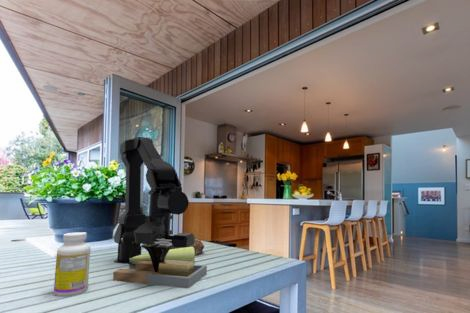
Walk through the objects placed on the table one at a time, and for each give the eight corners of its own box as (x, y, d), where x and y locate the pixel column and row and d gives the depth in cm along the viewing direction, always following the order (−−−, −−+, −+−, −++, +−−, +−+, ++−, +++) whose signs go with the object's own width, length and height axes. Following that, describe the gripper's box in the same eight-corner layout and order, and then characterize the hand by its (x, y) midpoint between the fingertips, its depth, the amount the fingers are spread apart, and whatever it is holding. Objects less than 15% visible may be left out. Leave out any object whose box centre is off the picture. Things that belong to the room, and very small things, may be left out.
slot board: (112, 281, 70) (113, 271, 70) (140, 269, 82) (141, 260, 82) (146, 285, 68) (147, 274, 68) (170, 271, 79) (170, 262, 79)
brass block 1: (158, 279, 71) (159, 263, 72) (166, 275, 75) (166, 259, 76) (172, 280, 70) (173, 264, 71) (179, 276, 74) (180, 260, 75)
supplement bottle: (63, 287, 65) (67, 231, 67) (92, 287, 66) (96, 231, 68) (46, 298, 59) (52, 235, 60) (79, 297, 59) (84, 235, 61)
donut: (159, 256, 98) (159, 242, 99) (175, 249, 111) (176, 236, 112) (197, 259, 95) (197, 244, 96) (209, 251, 108) (209, 238, 109)
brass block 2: (172, 280, 70) (173, 264, 71) (179, 276, 74) (180, 260, 75) (187, 282, 69) (187, 265, 70) (193, 277, 73) (194, 261, 74)
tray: (146, 285, 68) (147, 274, 68) (170, 271, 79) (170, 262, 79) (188, 289, 65) (188, 278, 65) (206, 274, 76) (206, 265, 77)
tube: (193, 241, 91) (129, 247, 85) (195, 251, 87) (128, 258, 80) (192, 255, 93) (129, 262, 87) (194, 266, 88) (128, 274, 82)
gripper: (110, 212, 70) (105, 277, 68) (178, 215, 66) (175, 285, 64) (136, 210, 81) (133, 265, 79) (196, 212, 76) (194, 272, 74)
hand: (156, 271), depth 74 cm, fingers closed
